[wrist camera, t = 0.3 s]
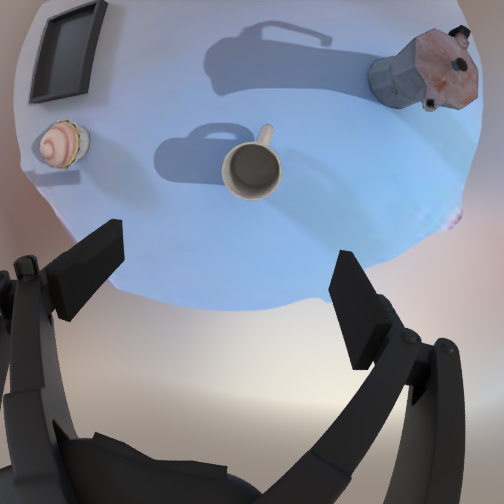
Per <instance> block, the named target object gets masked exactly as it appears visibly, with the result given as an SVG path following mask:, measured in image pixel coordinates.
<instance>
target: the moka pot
mask: <svg viewBox="0 0 504 504" xmlns="http://www.w3.org/2000/svg"><path fill="white" fill-rule="evenodd" d="M470 32H471V31H470V30H469V29H468V28H467V27H464V26H463V25H460V26H459V27H457V28H455V29H453V30H451V31H450V32H449V34H446V33H444V32H442V31H440V30H438V29H435V28H434V29H432V30H430V31H427V32H425V33H423V34H421V35H419V36H417V37H415V38H414V39H413V40H412V41H411V42H410V43H409V44H408V45H407V46H406V47H405V48H403V49H402V50H401V51H400V52H399V53H398V54H397V55H396V56H391V57H387V58H383V59H380V60H376V61H374V63H373V64H372V66H371V68H370V70H369V73H368V80H369V85H370V89H371V91H372V92H373V94H374V95H375V96H376V97H377V99H378V100H380V101H381V103H383V104H384V105H387V106H389V107H392V108H396V109H401V108H404V107H407V106H410V105H412V104H415V103H417V102H419V101H421V102H422V103H423V109H425V110H426V111H435V110H436V109H437V108H438V107H439V106H442V107H447V108H452V109H456V110H460V109H462V108H464V107H465V106H467V105H468V104H469V103H471V102H472V101H474V100H475V99H477V97H478V69H477V67H476V65H475V63H474V62H473V60H472V58H471V56H470V55H469V53H468V51H467V48H468V45H469V41H468V37H469V35H470ZM454 37H455V38H454Z"/></svg>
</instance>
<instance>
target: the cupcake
mask: <svg viewBox="0 0 504 504" xmlns="http://www.w3.org/2000/svg"><path fill="white" fill-rule="evenodd" d="M89 144H90V137H89V133H88V132H87V130H86V129H85V128H84V127H83V126H80V125H77V123H73V122H72V121H71V120H70V119H69V118H66V119H65V120H64V121H61V120H57V122H56V124H55V125H54V126H52V127H51V128H50V129H49V130H48V131H47V133H46V134H45V135H44V136H43V138H42V140H41V143H40V152H41V154H42V156H43V158H44V159H45V161H46V162H47V163H48V164H49V165H50V166H53V167H55V168H56V170H57V171H59V170H60V169H62V168H63V169H64V170H66V171H67V170H68V169H69V167H70V166H71V165H72V164H74V163H75V162H76V161H77V160H79V159H80V158H82V157H83V156H84V155H85V154H86V152H87V151H88V148H89Z"/></svg>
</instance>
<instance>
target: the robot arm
mask: <svg viewBox="0 0 504 504" xmlns="http://www.w3.org/2000/svg"><path fill="white" fill-rule="evenodd" d="M124 260H125V257H124V245H123V228H122V220H117V219H111V220H109V221H108V222H107V223H105V224H104V225H102V226H101V227H99V228H98V229H97V230H95V231H94V232H92V233H91V234H90V235H88V236H87V237H85V238H84V239H83V240H81V241H80V242H79V243H77V244H76V245H75V246H73V247H72V248H71V249H69V250H68V251H66V252H64V253H62V254H61V255H59V256H58V257H57V258H56V259H54V260H53V261H52V262H50V263H49V264H48V265H47V266H46V267H44V268H43V269H42V270H41V271H39V267H38V263H37V259H36V257H35V256H34V255H26V256H23V257H20V258H18V259H17V260H16V261H15V262H14V269H15V272H16V276H17V279H18V280H11V279H10V276H9V273H8V271H5V270H2V271H0V314H1V315H0V408H1V402H2V396H3V391H4V385H5V380H6V376H7V371H8V367H9V363H10V393H8V394H5V395H4V397H3V408H4V419H5V428H6V436H7V442H8V448H9V454H10V459H11V464H12V465H9V466H7V467H4V468H2V469H0V504H334V502H335V501H336V500H337V499H338V497H339V496H340V495H341V493H342V492H343V491H344V490H345V489H346V487H347V486H348V484H349V483H350V481H351V479H352V477H351V475H352V473H353V472H354V470H355V469H356V467H357V466H358V464H359V463H360V462H361V460H362V459H363V457H364V456H365V454H366V453H367V451H368V450H369V448H370V446H371V445H372V443H373V442H374V440H375V438H376V437H377V435H378V433H379V432H380V430H381V428H382V427H383V425H384V423H385V421H386V419H387V418H388V416H389V414H390V412H391V410H392V408H393V406H394V405H395V402H396V401H397V399H398V397H399V395H400V393H401V391H402V389H403V386H404V385H409V391H408V400H407V406H406V413H405V419H404V425H403V430H402V436H401V441H400V445H399V450H398V454H397V459H396V462H395V466H394V470H393V474H392V477H391V481H390V484H389V488H388V491H387V494H386V497H385V500H384V503H383V504H459V501H460V495H461V488H462V480H463V471H464V458H465V457H464V456H465V402H464V389H463V378H462V369H461V362H460V355H459V350H458V347H457V346H456V345H455V343H454V342H452V341H451V340H449V339H446V338H439V339H438V340H437V341H436V342H435V344H434V346H433V345H429V344H425V343H422V342H421V338H420V336H419V335H418V334H417V333H416V332H414V331H413V330H411V329H408V328H405V327H404V325H403V323H402V322H401V320H400V318H399V317H398V315H397V314H396V311H395V310H394V308H393V307H392V304H391V303H390V301H389V300H388V299H387V298H386V297H385V296H383V295H381V294H377V293H376V291H375V290H374V288H373V286H372V284H371V283H370V281H369V279H368V277H367V276H366V274H365V272H364V271H363V269H362V267H361V266H360V264H359V262H358V261H357V259H356V258H355V256H354V254H353V253H352V252H350V251H344V250H340V252H339V255H338V259H337V262H336V266H335V269H334V273H333V276H332V279H331V283H330V286H329V289H328V290H329V293H330V296H331V299H332V302H333V306H334V308H335V312H336V315H337V318H338V321H339V325H340V328H341V331H342V334H343V338H344V341H345V344H346V347H347V351H348V354H349V358H350V362H351V365H352V369H353V370H368V369H369V367H370V365H371V364H372V362H373V361H374V364H375V366H374V368H373V369H372V371H371V372H370V374H369V375H368V377H367V378H366V380H365V381H364V383H363V384H362V385H361V387H360V388H359V390H358V391H357V393H356V394H355V395H354V397H353V398H352V399H351V401H350V402H349V403H348V405H347V406H346V407H345V408H344V410H343V411H342V412H341V414H340V415H339V416H338V417H337V419H336V420H335V421H334V422H333V424H332V425H331V426H330V427H329V429H328V430H327V431H326V432H325V433H324V434H323V435H322V437H321V438H320V439H319V440H318V441H317V442H316V443H315V444H314V446H313V447H312V448H311V449H310V450H309V451H307V452H306V453H305V454H304V455H303V456H302V457H301V458H300V459H299V461H297V462H296V463H295V464H294V465H293V467H291V468H290V469H289V470H288V471H287V472H286V473H285V474H284V476H282V477H281V478H280V479H279V480H278V481H277V482H276V483H275V484H274V485H272V486H271V487H270V488H269V489H268V490H267V491H266V492H265V493H263V494H262V493H261V492H259V491H258V490H257V489H256V488H255V487H254V486H252V485H251V484H250V483H248V482H246V481H244V480H243V479H241V478H239V477H236V476H234V475H231V474H229V473H227V466H222V465H215V464H209V463H203V462H197V461H167V460H155V459H152V458H150V457H148V456H146V455H144V454H143V453H141V452H139V451H137V450H136V449H134V448H132V447H131V446H129V445H127V444H126V443H124V442H121V441H118V440H116V439H113V438H110V437H108V436H105V435H102V434H100V433H97V432H95V434H94V436H93V438H78V436H77V434H76V432H75V429H74V427H73V423H72V420H71V416H70V412H69V409H68V405H67V401H66V396H65V392H64V388H63V383H62V379H61V373H60V367H59V361H58V355H57V348H56V340H55V331H54V321H53V316H52V312H53V311H54V310H55V309H56V312H57V315H58V318H59V319H62V320H65V321H68V322H70V321H71V320H72V319H73V318H74V316H75V315H76V314H77V313H78V312H79V310H80V309H81V308H82V307H83V306H84V305H85V303H86V302H87V301H88V300H89V299H90V298H91V297H92V295H93V294H94V293H95V292H96V291H97V289H98V288H99V287H100V286H101V285H102V284H103V283H104V282H105V281H106V280H107V279H108V278H109V276H110V275H111V274H112V273H113V272H114V271H115V270H116V269H117V268H118V267H119V266H120V265H121V264H122V263H123V261H124Z"/></svg>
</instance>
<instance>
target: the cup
mask: <svg viewBox="0 0 504 504" xmlns="http://www.w3.org/2000/svg"><path fill="white" fill-rule="evenodd" d="M273 133H274V127H273V126H272V125H271V124H265V125H264V126H263V127H262V128H261V130H260V132H259V135H258V137H257V140H256V142H246V143H242V144H239V145H237V146H236V147H234V148H233V149H231V151H230V152H229V153H228V154H227V155H226V157H225V159H224V161H223V165H222V178H223V181H224V183H225V185H226V187H227V188H228V190H229V191H230V192H231V193H232V194H234V195H235V196H237V197H239V198H241V199H243V200H248V201H257V200H261V199H264V198H266V197H268V196H269V195H271V194H272V193H273V192H274V191H275V190H276V189H277V187H278V185H279V183H280V181H281V177H282V166H281V162H280V159H279V157H278V155H277V153H276V152H275V150H274V149H272V148H271V147H270V146H269V143H270V141H271V138H272V135H273Z"/></svg>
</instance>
